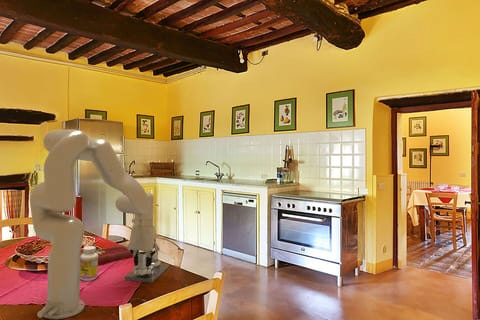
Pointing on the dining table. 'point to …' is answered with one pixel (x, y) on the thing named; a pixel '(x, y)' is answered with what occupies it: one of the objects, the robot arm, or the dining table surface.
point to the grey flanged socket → (142, 264)
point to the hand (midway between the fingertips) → (142, 265)
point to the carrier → (156, 272)
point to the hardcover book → (113, 254)
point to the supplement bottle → (89, 264)
